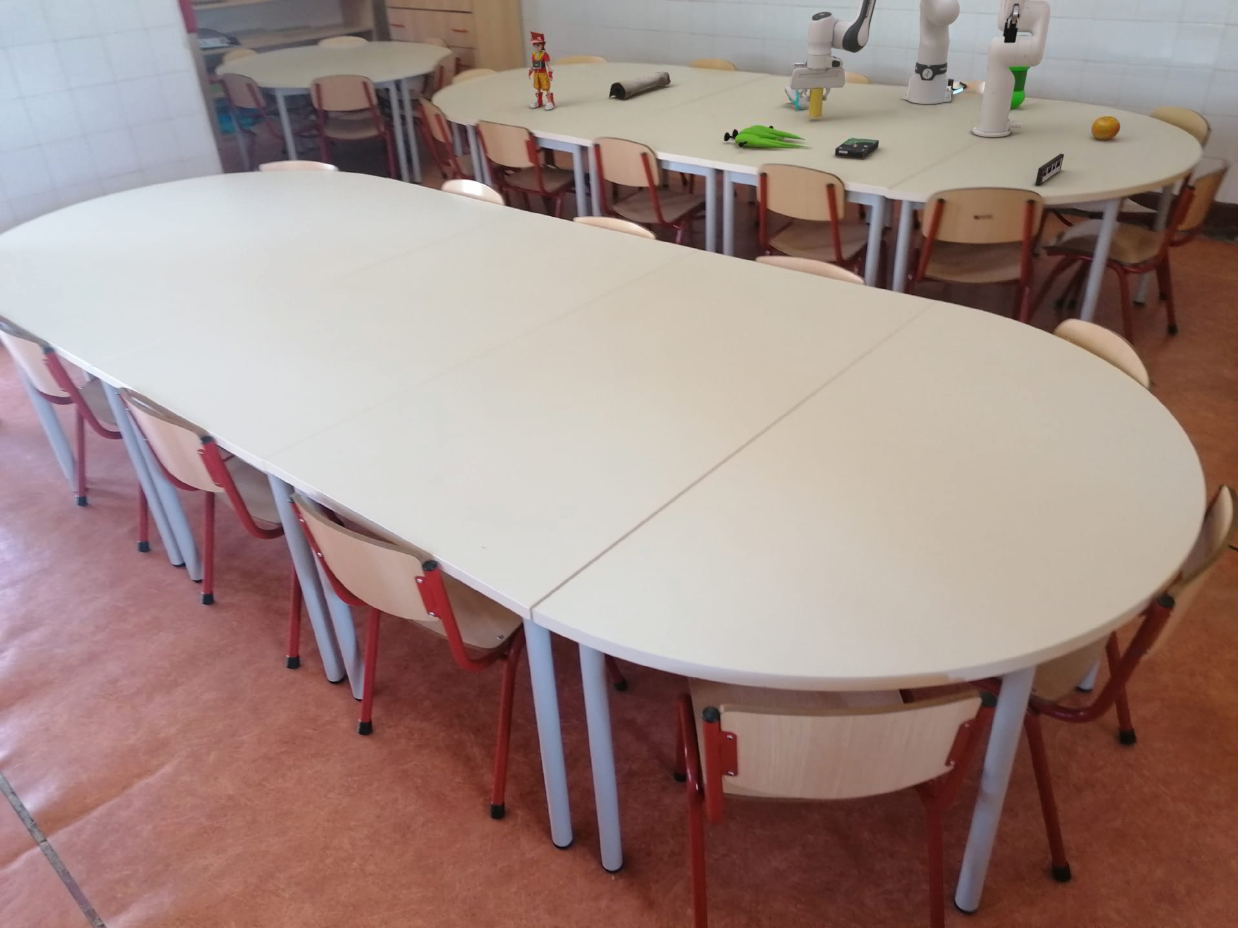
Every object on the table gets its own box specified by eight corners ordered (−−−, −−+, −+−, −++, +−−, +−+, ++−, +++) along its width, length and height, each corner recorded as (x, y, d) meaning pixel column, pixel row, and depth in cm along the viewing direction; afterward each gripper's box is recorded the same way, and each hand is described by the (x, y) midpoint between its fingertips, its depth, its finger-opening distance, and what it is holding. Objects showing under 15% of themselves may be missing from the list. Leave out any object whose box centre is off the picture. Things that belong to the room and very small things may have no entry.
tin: (813, 113, 345) (814, 85, 339) (824, 115, 342) (826, 87, 337) (805, 116, 342) (807, 88, 337) (816, 118, 339) (818, 90, 334)
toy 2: (713, 146, 317) (792, 161, 304) (715, 131, 314) (794, 145, 301) (747, 132, 337) (821, 146, 325) (748, 118, 334) (824, 131, 322)
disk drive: (864, 160, 299) (878, 148, 309) (864, 151, 297) (879, 139, 307) (834, 157, 304) (849, 145, 314) (835, 148, 302) (850, 136, 312)
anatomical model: (780, 80, 363) (804, 74, 363) (784, 106, 369) (807, 100, 369) (789, 89, 351) (814, 82, 350) (792, 115, 357) (817, 109, 356)
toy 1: (525, 109, 381) (517, 32, 364) (534, 104, 388) (527, 28, 371) (550, 110, 377) (543, 32, 360) (559, 105, 384) (553, 28, 367)
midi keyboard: (1039, 185, 269) (1043, 168, 266) (1035, 184, 270) (1038, 168, 267) (1060, 170, 279) (1064, 154, 277) (1056, 169, 280) (1060, 153, 277)
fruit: (1087, 130, 301) (1105, 108, 298) (1084, 133, 309) (1101, 112, 306) (1109, 144, 300) (1127, 122, 297) (1105, 147, 308) (1122, 126, 305)
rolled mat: (651, 76, 408) (662, 61, 399) (662, 93, 408) (674, 79, 400) (605, 92, 391) (616, 77, 383) (617, 110, 391) (628, 95, 383)
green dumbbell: (1029, 106, 343) (1043, 35, 329) (1012, 111, 338) (1026, 39, 324) (1007, 102, 350) (1020, 32, 336) (989, 107, 345) (1002, 36, 331)
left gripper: (791, 65, 330) (789, 104, 337) (847, 62, 328) (844, 101, 336) (789, 61, 335) (787, 100, 343) (844, 58, 333) (841, 97, 341)
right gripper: (1005, -28, 269) (995, 34, 279) (1007, -20, 256) (996, 45, 265) (1032, -28, 267) (1020, 34, 277) (1035, -21, 253) (1023, 45, 263)
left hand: (815, 101), depth 339 cm, fingers closed on tin, 5 cm apart
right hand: (1008, 39), depth 271 cm, fingers open, 9 cm apart
